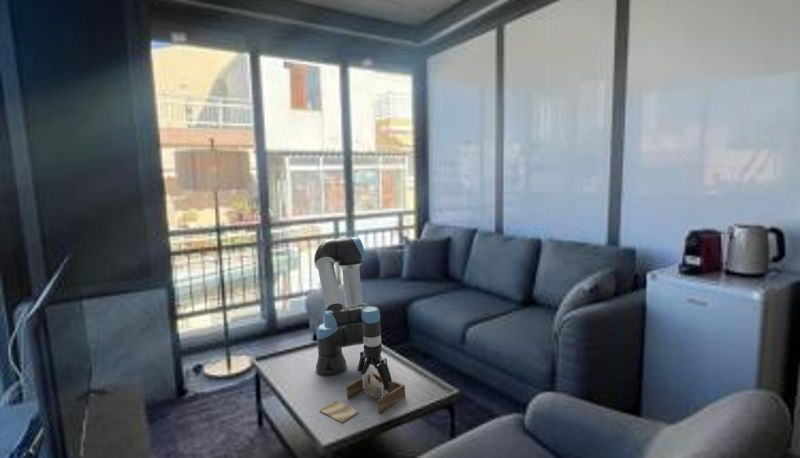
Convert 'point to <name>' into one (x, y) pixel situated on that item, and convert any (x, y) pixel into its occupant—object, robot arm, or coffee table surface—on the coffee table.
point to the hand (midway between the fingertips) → (375, 391)
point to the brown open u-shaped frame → (392, 398)
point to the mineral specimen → (374, 387)
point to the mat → (339, 411)
